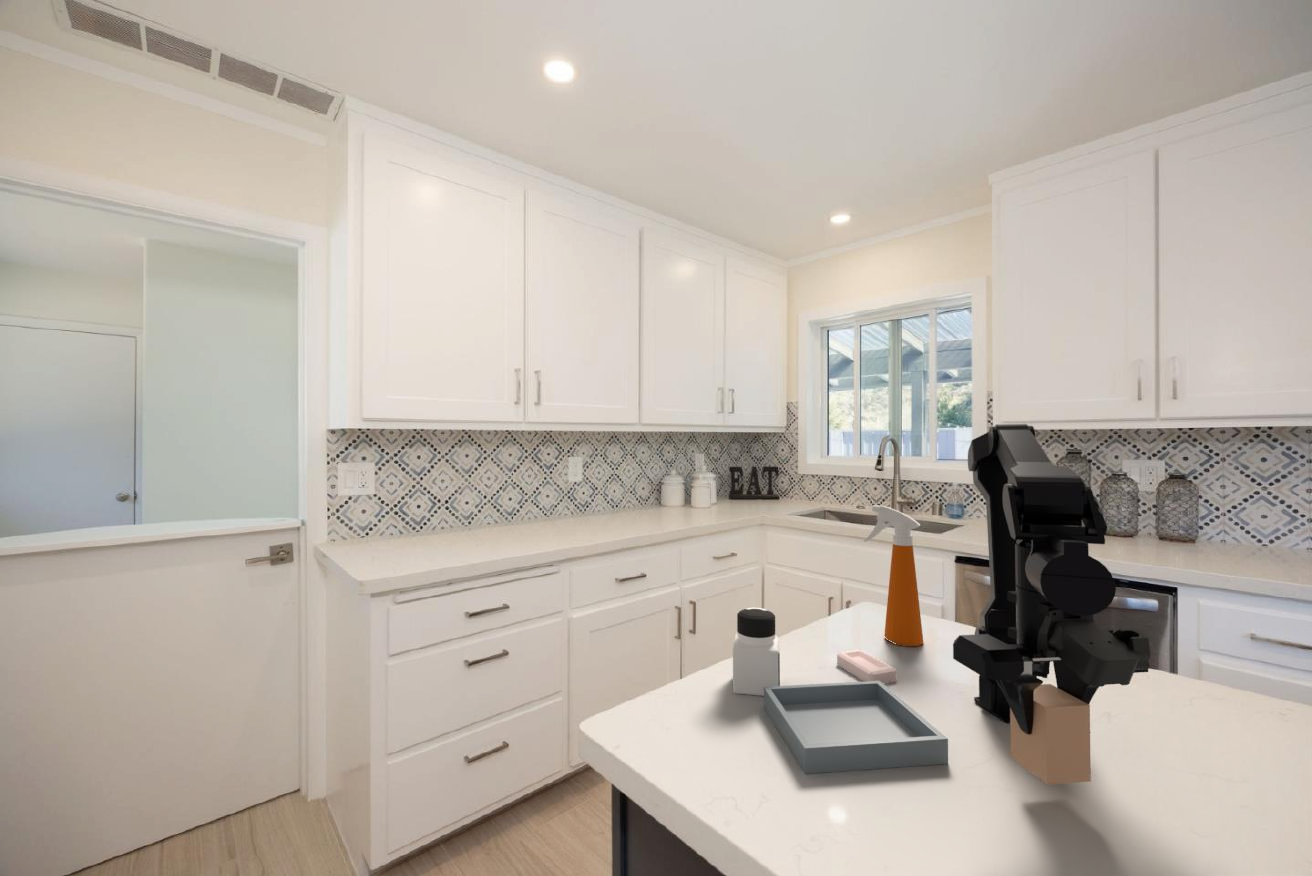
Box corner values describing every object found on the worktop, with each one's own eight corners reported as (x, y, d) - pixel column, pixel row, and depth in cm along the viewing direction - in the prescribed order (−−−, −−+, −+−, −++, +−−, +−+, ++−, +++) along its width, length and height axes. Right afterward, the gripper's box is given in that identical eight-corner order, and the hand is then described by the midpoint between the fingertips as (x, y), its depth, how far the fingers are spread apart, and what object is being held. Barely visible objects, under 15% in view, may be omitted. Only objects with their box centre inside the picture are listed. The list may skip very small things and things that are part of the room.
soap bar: (871, 688, 86) (870, 673, 86) (835, 665, 95) (835, 651, 95) (898, 683, 88) (898, 668, 88) (860, 661, 96) (860, 648, 96)
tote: (879, 700, 81) (879, 680, 81) (948, 763, 65) (947, 738, 65) (763, 707, 79) (763, 687, 79) (805, 774, 63) (804, 748, 63)
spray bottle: (869, 628, 112) (868, 502, 113) (926, 638, 106) (925, 505, 106) (860, 638, 107) (859, 506, 107) (920, 650, 100) (918, 509, 101)
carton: (1050, 754, 61) (1050, 684, 61) (1090, 781, 56) (1089, 705, 57) (1010, 756, 61) (1009, 686, 61) (1047, 784, 56) (1046, 707, 56)
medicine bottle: (779, 698, 82) (779, 619, 82) (732, 694, 83) (732, 616, 83) (778, 678, 89) (778, 605, 89) (735, 674, 90) (734, 603, 90)
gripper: (1026, 615, 50) (1028, 783, 50) (1204, 608, 52) (1206, 770, 52) (949, 584, 61) (950, 721, 61) (1098, 579, 63) (1099, 712, 63)
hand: (1048, 731), depth 59 cm, fingers closed on carton, 5 cm apart
